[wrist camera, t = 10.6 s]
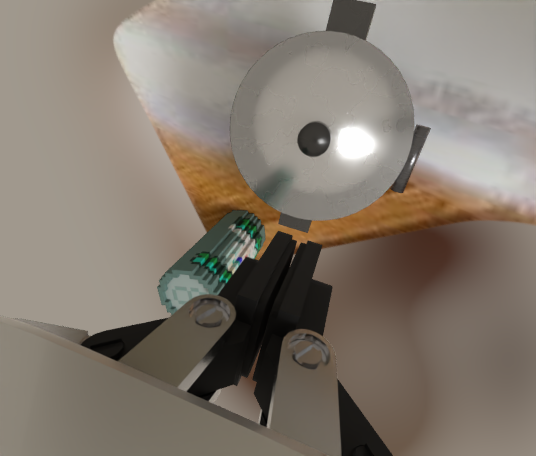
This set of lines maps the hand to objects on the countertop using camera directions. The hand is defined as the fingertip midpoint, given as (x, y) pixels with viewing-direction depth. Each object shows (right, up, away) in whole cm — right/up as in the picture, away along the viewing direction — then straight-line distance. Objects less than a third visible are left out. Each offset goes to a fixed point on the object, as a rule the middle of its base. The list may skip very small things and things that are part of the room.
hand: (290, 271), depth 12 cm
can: (-4, +1, +30) cm, 31 cm away
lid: (+3, +9, +13) cm, 17 cm away
